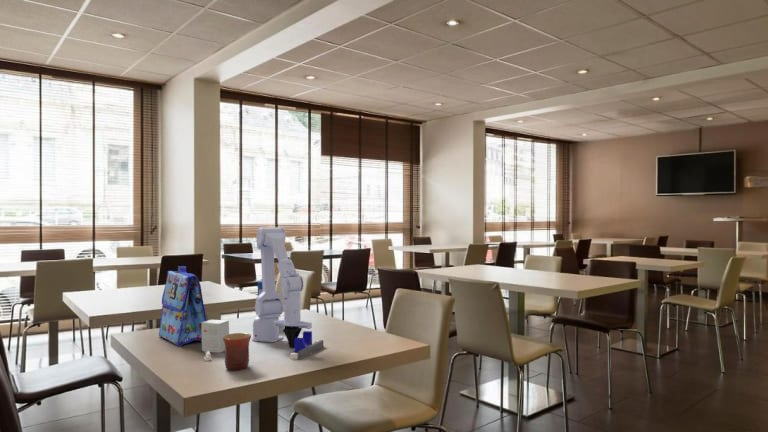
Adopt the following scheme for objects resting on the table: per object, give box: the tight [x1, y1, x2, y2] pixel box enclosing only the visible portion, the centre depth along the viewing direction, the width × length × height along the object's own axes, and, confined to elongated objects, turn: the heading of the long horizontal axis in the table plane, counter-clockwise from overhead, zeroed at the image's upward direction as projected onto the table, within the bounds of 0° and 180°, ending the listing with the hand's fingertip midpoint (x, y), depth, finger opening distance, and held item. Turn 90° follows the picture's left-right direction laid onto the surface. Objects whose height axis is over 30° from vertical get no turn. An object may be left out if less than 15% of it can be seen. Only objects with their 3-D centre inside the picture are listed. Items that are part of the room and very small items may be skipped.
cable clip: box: [293, 330, 313, 353], centre depth 185 cm, size 12×4×6 cm, turn 173°
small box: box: [201, 319, 230, 354], centre depth 187 cm, size 8×6×10 cm
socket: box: [289, 339, 325, 361], centre depth 184 cm, size 4×19×2 cm, turn 161°
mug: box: [223, 332, 252, 372], centre depth 166 cm, size 12×9×10 cm
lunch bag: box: [158, 265, 208, 347], centre depth 205 cm, size 22×14×29 cm, turn 41°
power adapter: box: [203, 351, 212, 362], centre depth 175 cm, size 3×3×3 cm
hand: (292, 347), depth 186 cm, fingers closed
